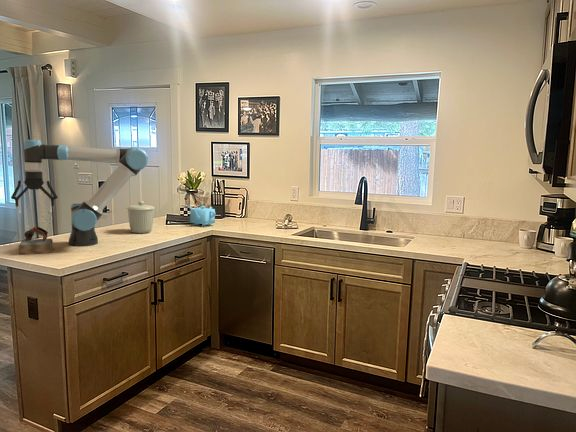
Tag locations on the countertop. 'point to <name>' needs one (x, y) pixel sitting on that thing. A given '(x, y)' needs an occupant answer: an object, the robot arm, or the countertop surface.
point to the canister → (141, 217)
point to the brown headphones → (38, 230)
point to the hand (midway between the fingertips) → (35, 212)
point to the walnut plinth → (35, 246)
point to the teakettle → (202, 215)
